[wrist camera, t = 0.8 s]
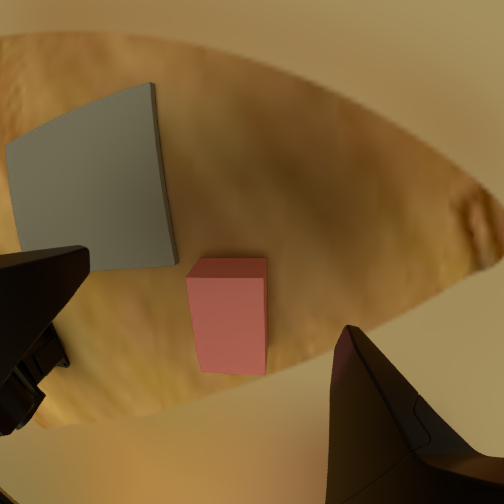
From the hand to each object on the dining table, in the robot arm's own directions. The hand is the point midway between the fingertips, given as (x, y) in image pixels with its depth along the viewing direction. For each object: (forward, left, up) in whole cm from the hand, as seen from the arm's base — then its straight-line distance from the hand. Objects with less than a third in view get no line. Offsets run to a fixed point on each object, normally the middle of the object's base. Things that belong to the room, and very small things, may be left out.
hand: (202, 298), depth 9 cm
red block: (-2, -7, -13) cm, 15 cm away
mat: (-15, +4, -13) cm, 20 cm away
